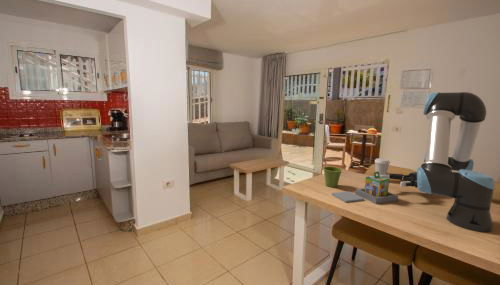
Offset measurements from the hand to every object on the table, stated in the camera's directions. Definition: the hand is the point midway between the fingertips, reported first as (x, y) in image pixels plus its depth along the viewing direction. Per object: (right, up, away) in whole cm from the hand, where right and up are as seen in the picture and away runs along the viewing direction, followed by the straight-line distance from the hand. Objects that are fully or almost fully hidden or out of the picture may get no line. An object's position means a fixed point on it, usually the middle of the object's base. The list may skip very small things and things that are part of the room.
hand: (390, 180), depth 137 cm
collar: (-9, -9, -2) cm, 13 cm away
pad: (-26, -9, -3) cm, 27 cm away
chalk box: (-9, -9, -2) cm, 13 cm away
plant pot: (-28, -6, +17) cm, 33 cm away
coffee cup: (+12, -5, +32) cm, 34 cm away
